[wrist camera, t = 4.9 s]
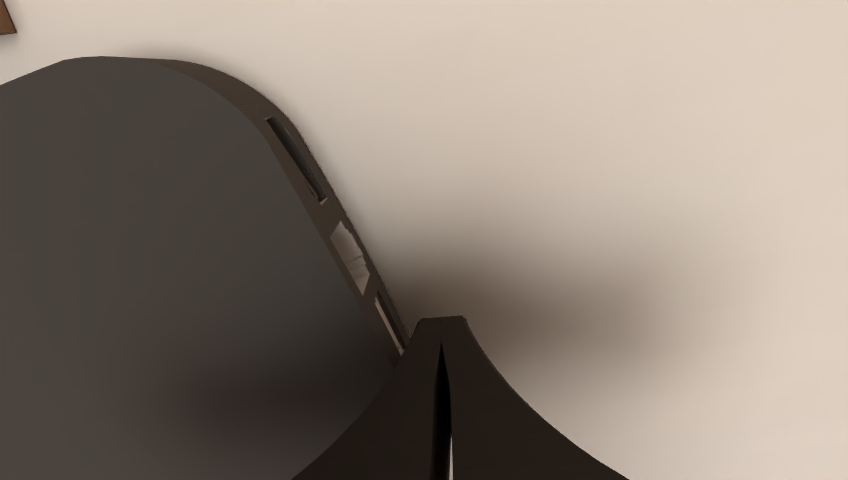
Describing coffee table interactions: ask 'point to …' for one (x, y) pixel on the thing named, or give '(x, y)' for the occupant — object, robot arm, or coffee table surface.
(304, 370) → the media streaming box
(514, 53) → the coffee table surface
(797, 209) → the coffee table surface
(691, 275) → the coffee table surface
